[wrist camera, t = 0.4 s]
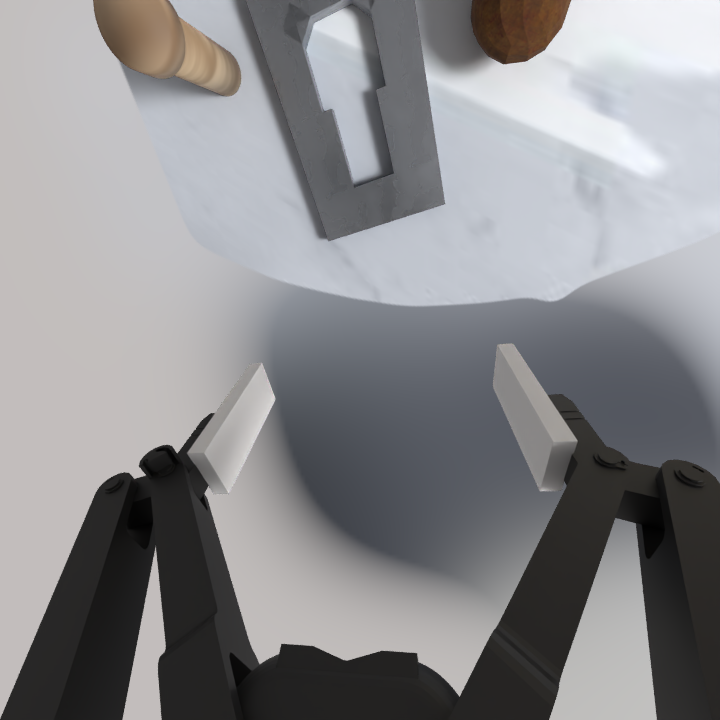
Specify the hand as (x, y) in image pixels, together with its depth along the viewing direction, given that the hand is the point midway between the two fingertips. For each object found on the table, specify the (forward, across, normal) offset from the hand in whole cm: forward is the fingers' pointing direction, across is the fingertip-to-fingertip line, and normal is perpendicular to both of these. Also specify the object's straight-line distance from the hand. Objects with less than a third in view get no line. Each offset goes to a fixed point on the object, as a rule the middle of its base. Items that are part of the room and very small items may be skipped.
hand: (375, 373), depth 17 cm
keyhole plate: (+26, -1, +15) cm, 30 cm away
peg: (+26, -14, +20) cm, 36 cm away
